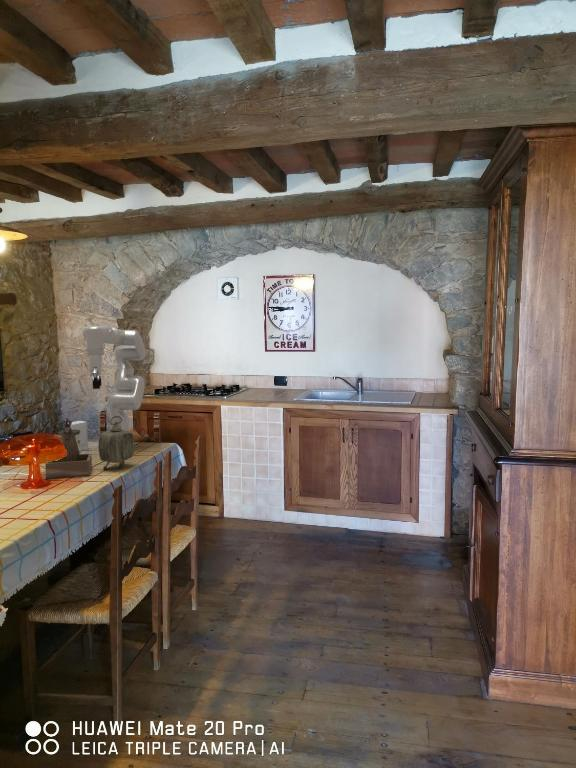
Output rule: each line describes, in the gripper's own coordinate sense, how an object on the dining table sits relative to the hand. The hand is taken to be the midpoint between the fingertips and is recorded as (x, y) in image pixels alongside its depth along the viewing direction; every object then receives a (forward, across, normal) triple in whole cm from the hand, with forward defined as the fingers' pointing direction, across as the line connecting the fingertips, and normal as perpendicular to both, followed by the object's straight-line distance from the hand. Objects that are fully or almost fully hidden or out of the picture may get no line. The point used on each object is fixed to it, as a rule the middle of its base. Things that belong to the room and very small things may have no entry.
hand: (97, 387), depth 254 cm
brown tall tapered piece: (+36, +17, -12) cm, 42 cm away
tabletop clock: (+38, +13, +9) cm, 41 cm away
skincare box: (+38, -30, -14) cm, 51 cm away
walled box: (+37, +17, -12) cm, 43 cm away
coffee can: (+38, -12, -16) cm, 43 cm away
